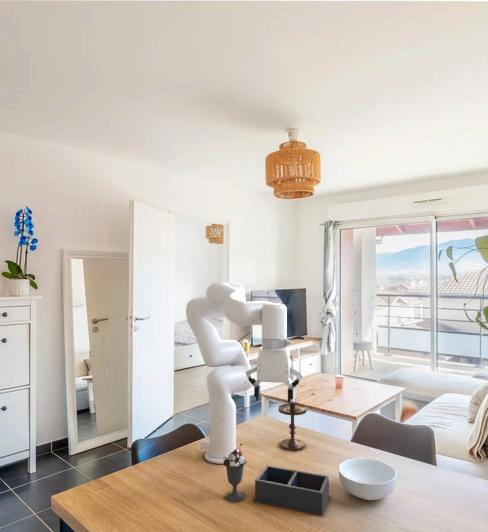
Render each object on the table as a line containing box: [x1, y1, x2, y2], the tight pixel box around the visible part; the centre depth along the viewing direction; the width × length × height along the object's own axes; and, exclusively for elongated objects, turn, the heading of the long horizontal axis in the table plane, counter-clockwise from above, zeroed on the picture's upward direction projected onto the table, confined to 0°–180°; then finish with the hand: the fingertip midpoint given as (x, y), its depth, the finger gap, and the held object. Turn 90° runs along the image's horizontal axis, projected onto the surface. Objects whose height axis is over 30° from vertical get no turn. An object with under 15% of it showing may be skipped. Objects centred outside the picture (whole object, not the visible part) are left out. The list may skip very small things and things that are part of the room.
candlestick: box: [277, 354, 308, 452], centre depth 154 cm, size 11×11×35 cm
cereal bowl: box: [338, 457, 398, 501], centre depth 120 cm, size 17×17×7 cm
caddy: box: [254, 464, 330, 517], centre depth 116 cm, size 10×19×6 cm, turn 69°
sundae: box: [222, 443, 247, 503], centre depth 118 cm, size 7×7×15 cm
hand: (273, 400), depth 122 cm, fingers open, 9 cm apart
